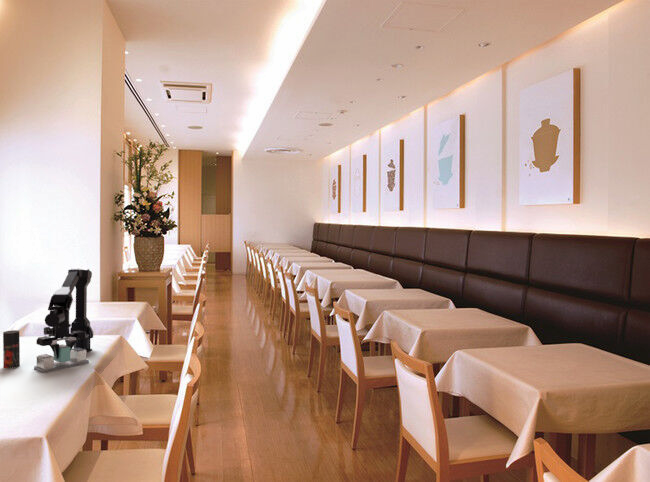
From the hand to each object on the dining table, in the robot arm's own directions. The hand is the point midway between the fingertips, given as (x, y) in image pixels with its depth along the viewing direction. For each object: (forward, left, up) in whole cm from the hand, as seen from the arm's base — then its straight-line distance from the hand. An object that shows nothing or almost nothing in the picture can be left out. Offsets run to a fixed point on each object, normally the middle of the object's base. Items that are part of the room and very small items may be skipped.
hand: (62, 357), depth 216 cm
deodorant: (+14, -15, -4) cm, 21 cm away
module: (0, 0, -1) cm, 1 cm away
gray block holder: (0, 0, -4) cm, 4 cm away
